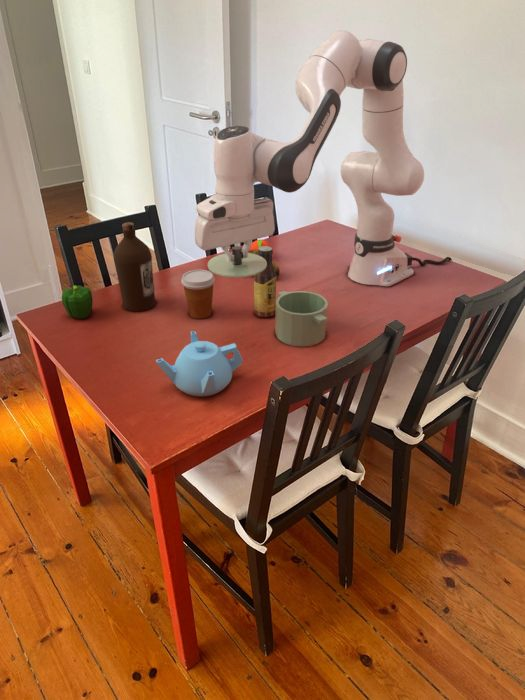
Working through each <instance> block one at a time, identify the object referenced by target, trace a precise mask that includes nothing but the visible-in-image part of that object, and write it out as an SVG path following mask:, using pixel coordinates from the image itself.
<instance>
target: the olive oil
mask: <svg viewBox="0 0 525 700" xmlns="http://www.w3.org/2000/svg"><path fill="white" fill-rule="evenodd" d="M121 227H122V229H121V230H122V235H123V237H122V239H121V241H119V243H118V244H117V245H116V246H115V248H114V251H113V262H114V267H115V272H116V276H117V281H118V286H119V291H120V295H121V300H122V306H123V308H124V309H125V310H127V311H129V312H144V311H148V310H150V309H152V308H153V307H154V306H155V304H156V297H155V296H156V295H155V283H154V272H153V256H152V252H151V250H150V248H149V246H148V245H147V244H146V242H144V241H143V240H141V239H140V238H139V237H137V235H136V228H135V223H134V222H130V221H128V222H123V223H122V225H121Z"/></svg>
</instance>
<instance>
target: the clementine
mask: <svg viewBox="0 0 525 700" xmlns="http://www.w3.org/2000/svg"><path fill="white" fill-rule="evenodd" d="M262 246H269V247H270V245H269V243H268V242H267V240H266V241H265V240H264V239H255V240H254V241H252V245H251V247H250V249H249V251H250V250H258V248H259V247H262Z"/></svg>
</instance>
